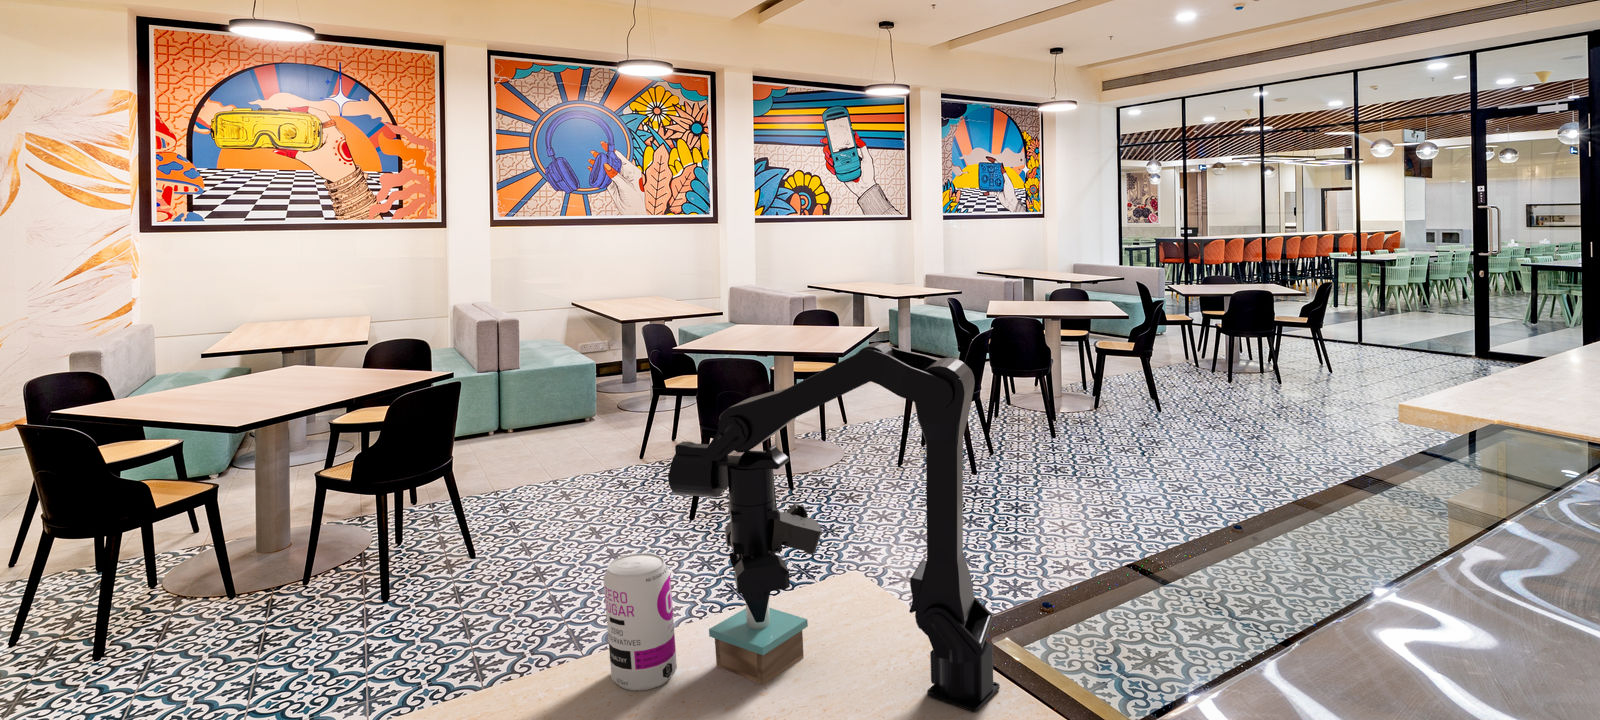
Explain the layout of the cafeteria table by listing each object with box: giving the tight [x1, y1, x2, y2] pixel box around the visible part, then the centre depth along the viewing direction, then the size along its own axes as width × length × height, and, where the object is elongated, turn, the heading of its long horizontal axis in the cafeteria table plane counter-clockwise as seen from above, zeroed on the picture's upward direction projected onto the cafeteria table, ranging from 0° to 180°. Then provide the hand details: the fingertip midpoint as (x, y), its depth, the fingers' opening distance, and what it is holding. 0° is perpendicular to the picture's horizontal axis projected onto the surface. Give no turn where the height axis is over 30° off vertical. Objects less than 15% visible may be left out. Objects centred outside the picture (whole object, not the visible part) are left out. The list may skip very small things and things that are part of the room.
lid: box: [708, 600, 809, 655], centre depth 110 cm, size 9×9×6 cm
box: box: [714, 630, 805, 686], centre depth 111 cm, size 8×8×4 cm
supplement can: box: [603, 552, 678, 691], centre depth 108 cm, size 8×8×15 cm
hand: (758, 616), depth 110 cm, fingers closed on lid, 3 cm apart
